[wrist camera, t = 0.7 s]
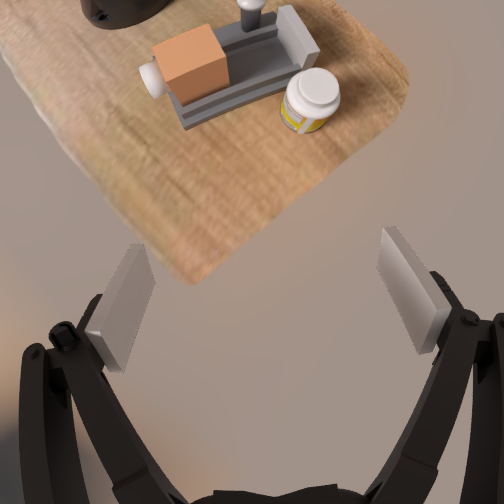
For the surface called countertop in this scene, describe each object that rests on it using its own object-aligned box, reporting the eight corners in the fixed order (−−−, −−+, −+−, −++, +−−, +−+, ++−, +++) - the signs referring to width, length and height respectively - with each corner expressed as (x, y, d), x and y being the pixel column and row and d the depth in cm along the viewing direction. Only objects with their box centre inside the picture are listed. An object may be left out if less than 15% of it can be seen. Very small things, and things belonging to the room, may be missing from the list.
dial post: (234, 22, 32) (232, -8, 25) (256, 15, 31) (258, -15, 25) (243, 39, 32) (243, 10, 25) (267, 31, 32) (270, 2, 25)
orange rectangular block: (156, 85, 33) (132, 57, 24) (215, 59, 32) (208, 23, 24) (168, 115, 33) (146, 91, 25) (230, 88, 33) (225, 56, 24)
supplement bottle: (326, 100, 35) (351, 70, 25) (318, 140, 36) (343, 119, 26) (284, 89, 35) (296, 53, 25) (274, 128, 36) (284, 102, 25)
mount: (155, 60, 34) (138, 35, 26) (272, 16, 33) (277, -14, 25) (185, 130, 35) (171, 114, 28) (310, 81, 35) (324, 57, 27)
